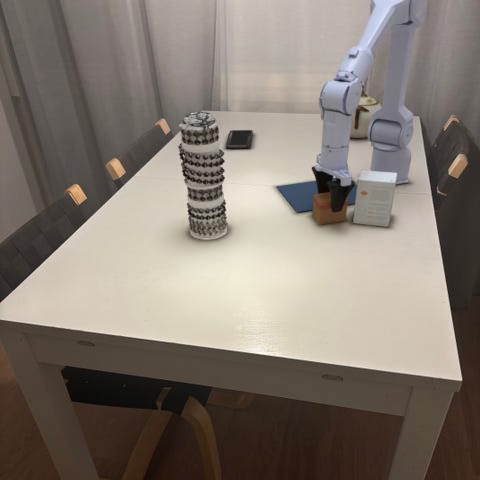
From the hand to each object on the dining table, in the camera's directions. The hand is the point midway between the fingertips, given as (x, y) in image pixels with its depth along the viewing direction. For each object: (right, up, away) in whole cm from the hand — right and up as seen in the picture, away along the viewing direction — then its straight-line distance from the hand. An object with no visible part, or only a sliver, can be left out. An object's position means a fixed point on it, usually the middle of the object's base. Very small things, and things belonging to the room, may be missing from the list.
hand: (329, 204), depth 108 cm
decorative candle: (-28, -6, 0) cm, 28 cm away
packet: (0, -3, +2) cm, 4 cm away
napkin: (+1, +6, +13) cm, 14 cm away
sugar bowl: (+18, +35, +48) cm, 62 cm away
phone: (-20, +32, +47) cm, 60 cm away
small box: (+10, -4, +1) cm, 10 cm away
